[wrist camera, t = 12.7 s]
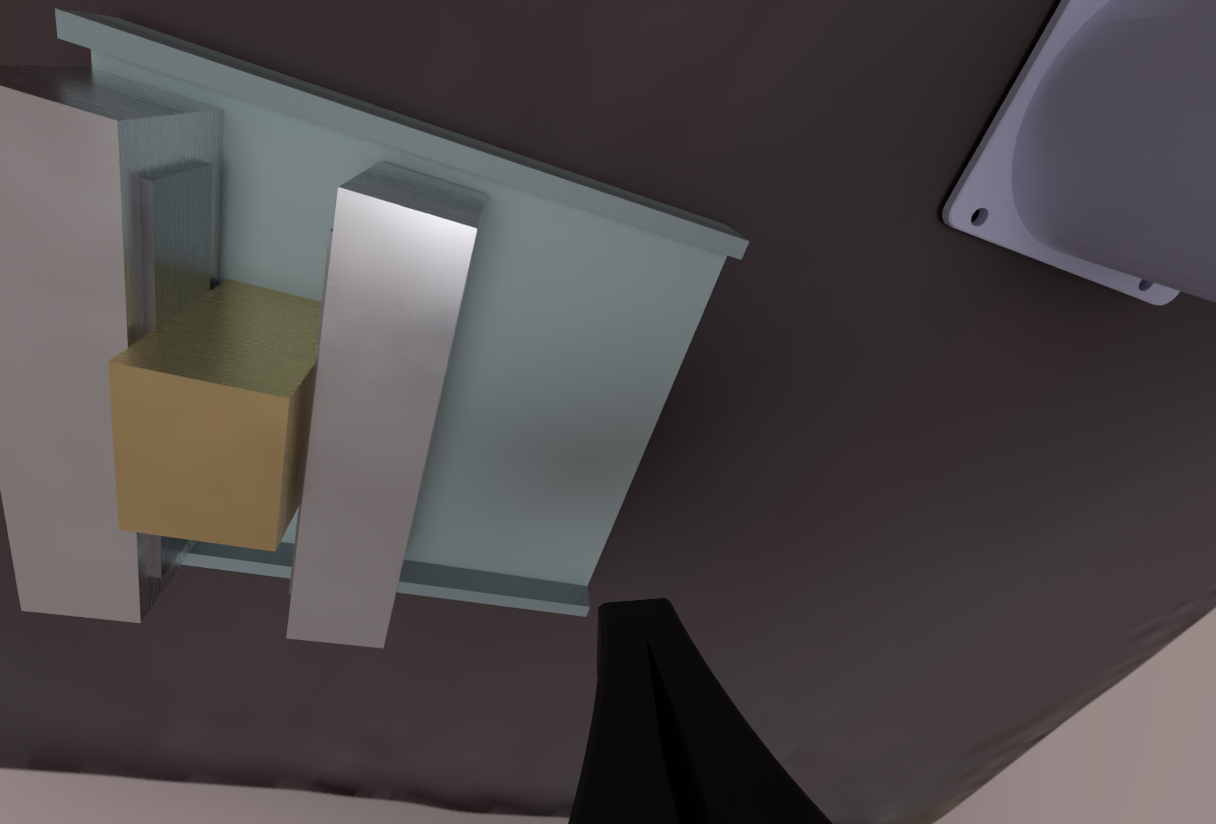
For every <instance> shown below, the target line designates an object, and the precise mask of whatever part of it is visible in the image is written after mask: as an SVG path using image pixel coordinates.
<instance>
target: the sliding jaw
mask: <svg viewBox="0 0 1216 824" xmlns="http://www.w3.org/2000/svg"><path fill="white" fill-rule="evenodd" d="M486 197H487V195H485V194H482V193H479V192H476V191H473V190H470V189H466V188H463V187H460V186H457V185H454V184H451V183H448V182H444V181H441V180H438V179H435V178H432V177H429V176H425V175H422V174H419V173H416V172H413V171H410V170H406V169H403V168H400V167H397V166H394V165H391V164H387V163H384V162H381V161H380V162H378V163H377V164H375V165H373V166H372V167H370V168H369V169H367V170H365V171H364V172H362V173H360V174H359V175H357V176H355V177H354V178H352V179H350V180H349V181H347V182H345V183H344V184H342V185H340V186H339V187H338V192H337V201H336V209H335V218H334V227H333V228H332V229H331V230H330V231H329V239H328V248H327V257H326V266H325V275H324V284H323V293H322V302H321V311H320V320H319V329H318V338H317V347H316V356H315V365H314V374H313V383H312V392H311V401H310V409H309V418H308V427H307V436H306V445H305V454H304V463H303V472H302V481H301V490H300V499H299V508H298V517H297V526H296V535H295V544H294V553H293V562H292V571H291V580H290V589H289V594H291V603H290V612H289V620H288V629H287V638H290V639H299V640H309V641H318V642H328V643H338V644H347V645H357V646H366V647H376V648H384V644H385V639H386V635H387V631H388V627H389V623H390V618H391V614H392V610H393V606H394V602H395V598H396V593H397V589H398V585H399V581H400V577H401V572H402V568H403V564H404V560H405V556H406V551H407V547H408V542H409V538H410V534H411V529H412V525H413V520H414V516H415V511H416V507H417V503H418V498H419V494H420V489H421V485H422V480H423V476H424V472H425V467H426V463H427V458H428V454H429V449H430V445H431V440H432V436H433V432H434V427H435V423H436V418H437V414H438V409H439V405H440V401H441V396H442V392H443V387H444V383H445V378H446V374H447V370H448V365H449V361H450V356H451V352H452V347H453V343H454V338H455V334H456V330H457V325H458V321H459V316H460V312H461V307H462V303H463V299H464V294H465V290H466V285H467V281H468V276H469V272H470V268H471V263H472V259H473V254H474V250H475V245H476V241H477V237H478V232H479V228H480V223H481V219H482V214H483V210H484V205H485V201H486Z"/></svg>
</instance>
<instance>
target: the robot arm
mask: <svg viewBox="0 0 1216 824" xmlns="http://www.w3.org/2000/svg"><path fill="white" fill-rule="evenodd" d="M977 209H979V215H978V217H977V218H976V220H975V221H973V222H971V217H972V215H973V213H974V212H975V211H976V210H977ZM942 218H943V220H944V223H945V224H947V225H948V226H950V227H952V228H955V229H958V230H960V231H963V232H966V233H968V234H971V235H973V236H976V237H979V238H981V239H984V240H986V241H989V242H992V243H994V244H997V245H999V246H1002V247H1005V248H1007V249H1010V250H1012V251H1015V252H1018V253H1020V254H1023V255H1026V256H1028V257H1031V258H1033V259H1036V260H1039V261H1041V262H1044V263H1046V264H1049V265H1052V266H1054V267H1057V268H1059V269H1062V270H1065V271H1067V272H1070V273H1072V274H1075V275H1078V276H1080V277H1083V278H1086V279H1088V280H1091V281H1093V282H1096V283H1099V284H1101V285H1104V286H1106V287H1109V288H1112V289H1114V290H1117V291H1119V292H1122V293H1125V294H1127V295H1130V296H1132V297H1135V298H1138V299H1140V300H1143V301H1146V302H1148V303H1151V304H1154V305H1164V304H1167V303H1168V302H1170V301H1171V300H1173V299H1174V298H1175V297H1176V296H1177V295H1178V294H1179V292H1180V291H1181V292H1185V293H1188V294H1191V295H1194V296H1197V297H1200V298H1203V299H1206V300H1209V301H1212V302H1215V303H1216V0H1061V2H1060V4H1059V5H1058V7H1057V9H1056V11H1055V12H1054V14H1053V16H1052V18H1051V19H1050V21H1049V23H1048V25H1047V26H1046V28H1045V30H1044V32H1043V33H1042V35H1041V37H1040V39H1039V41H1038V42H1037V44H1036V46H1035V48H1034V49H1033V51H1032V53H1031V55H1030V56H1029V58H1028V60H1027V62H1026V63H1025V65H1024V67H1023V69H1022V70H1021V72H1020V74H1019V76H1018V77H1017V79H1016V81H1015V83H1014V84H1013V86H1012V88H1011V90H1010V91H1009V93H1008V95H1007V97H1006V98H1005V100H1004V102H1003V104H1002V105H1001V107H1000V109H999V111H998V112H997V114H996V116H995V118H994V119H993V121H992V123H991V125H990V127H989V128H988V130H987V132H986V134H985V135H984V137H983V139H982V141H981V142H980V144H979V146H978V148H977V149H976V151H975V153H974V155H973V156H972V158H971V160H970V162H969V163H968V165H967V167H966V169H965V170H964V172H963V174H962V176H961V177H960V179H959V181H958V183H957V184H956V186H955V188H954V190H953V191H952V193H951V195H950V197H949V198H948V200H947V202H946V204H945V206H944V209H943V213H942ZM1141 280H1142V281H1141ZM1140 281H1141V282H1140ZM597 675H598V682H597V689H596V697H595V705H594V711H593V717H592V722H591V727H590V732H589V737H588V743H587V748H586V753H585V758H584V762H583V767H582V771H581V776H580V780H579V784H578V788H577V792H576V796H575V800H574V804H573V808H572V812H571V816H570V819H569V823H568V824H833V823H832V822H831V821H830V820H829V819H828V818H827V817H826V816H825V815H824V814H823V813H822V811H821V810H820V809H819V808H818V807H817V806H816V805H815V804H814V803H813V802H812V800H811V799H810V798H809V797H808V796H807V795H806V794H805V793H804V792H803V790H802V789H801V788H800V787H799V786H798V785H797V783H796V782H795V781H794V780H793V779H792V778H791V776H790V775H789V774H788V773H787V772H786V771H785V769H784V768H783V767H782V766H781V765H780V763H779V762H778V761H777V760H776V759H775V757H774V756H773V755H772V754H771V752H770V751H769V750H768V749H767V747H766V746H765V745H764V744H763V742H762V741H761V740H760V738H759V737H758V736H757V734H756V733H755V732H754V731H753V729H752V728H751V727H750V725H749V724H748V723H747V721H746V720H745V719H744V717H743V716H742V715H741V713H740V712H739V710H738V709H737V708H736V706H735V705H734V704H733V702H732V701H731V699H730V698H729V696H728V695H727V693H726V692H725V691H724V689H723V688H722V686H721V685H720V683H719V682H718V680H717V679H716V677H715V676H714V675H713V673H712V672H711V670H710V669H709V667H708V665H707V664H706V662H705V661H704V659H703V658H702V656H701V654H700V653H699V651H698V650H697V648H696V646H695V645H694V643H693V642H692V640H691V638H690V636H689V635H688V633H687V631H686V630H685V628H684V626H683V624H682V623H681V621H680V619H679V617H678V615H677V613H676V612H675V610H674V608H673V606H672V604H671V602H670V601H669V600H668V599H666V598H659V599H647V600H635V601H622V602H610V603H604V604H602V605H601V606H600V607H599V608H598V645H597Z"/></svg>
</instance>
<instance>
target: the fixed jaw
mask: <svg viewBox="0 0 1216 824" xmlns="http://www.w3.org/2000/svg"><path fill="white" fill-rule="evenodd" d="M223 124H224V109H222V108H219V107H215V106H212V105H209V104H206V103H203V102H200V101H197V100H193V99H190V98H187V97H184V96H181V95H178V94H175V93H171V92H168V91H165V90H162V89H159V88H156V87H152V86H149V85H146V84H143V83H140V82H137V81H134V80H130V79H127V78H124V77H121V76H118V75H115V74H112V73H108V72H105V71H102V70H99V69H96V68H93V67H57V66H14V65H0V490H1V495H2V501H3V507H4V513H5V518H6V524H7V530H8V536H9V542H10V547H11V553H12V559H13V565H14V570H15V576H16V582H17V588H18V593H19V599H20V605H21V611H30V612H40V613H49V614H59V615H69V616H78V617H88V618H97V619H107V620H117V621H126V622H136V623H141V622H142V620H143V619H144V617H145V616H146V615H147V613H148V612H149V610H150V609H151V607H152V606H153V604H154V603H155V602H156V600H157V599H158V597H159V596H160V594H161V593H162V591H163V590H164V589H165V587H166V586H167V584H168V583H169V581H170V580H171V579H172V577H173V576H174V574H175V573H176V571H177V570H178V568H179V567H180V566H181V564H182V563H183V561H184V560H185V558H186V557H187V556H188V554H189V553H190V551H191V550H192V548H193V547H194V545H195V544H196V543H197V541H195V540H188V539H181V538H174V537H166V536H159V535H152V534H145V533H138V532H131V531H124V530H119V525H118V509H117V493H116V477H115V462H114V446H113V430H112V414H111V399H110V383H109V367H108V361H110V360H111V359H112V358H114V357H115V356H117V355H118V354H120V353H121V352H123V351H124V350H126V349H127V348H128V347H130V346H131V345H133V344H134V343H136V342H137V341H139V340H140V339H141V338H143V337H144V336H146V335H147V334H149V333H150V332H152V331H153V330H154V329H156V328H157V327H159V326H160V325H162V324H163V323H165V322H166V321H168V320H169V319H170V318H172V317H173V316H175V315H176V314H178V313H179V312H181V311H182V310H183V309H185V308H186V307H188V306H189V305H191V304H192V303H194V302H195V301H196V300H198V299H199V298H201V297H202V296H204V295H205V294H207V293H208V292H210V291H211V290H212V289H214V288H215V287H217V286H218V285H219V264H220V229H221V194H222V159H223Z"/></svg>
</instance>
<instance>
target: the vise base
mask: <svg viewBox="0 0 1216 824" xmlns="http://www.w3.org/2000/svg"><path fill="white" fill-rule="evenodd" d="M55 13H56V25H57V37H58V38H59V39H62V40H65V41H68V42H71V43H74V44H78V45H81V46H84V47H87V48H90V49H91V58H92V67H93V68H96V69H99V70H102V71H105V72H108V73H112V74H115V75H118V76H121V77H124V78H127V79H130V80H134V81H137V82H140V83H143V84H146V85H149V86H152V87H156V88H159V89H162V90H165V91H168V92H171V93H175V94H178V95H181V96H184V97H187V98H190V99H193V100H197V101H200V102H203V103H206V104H209V105H212V106H215V107H219V108H222V109H224V124H223V159H222V194H221V229H220V264H219V285H220V284H221V283H223V282H224V281H225V280H227V279H231V280H235V281H239V282H243V283H247V284H251V285H255V286H259V287H263V288H267V289H271V290H275V291H279V292H283V293H287V294H291V295H295V296H299V297H303V298H307V299H312V300H316V301H320V302H322V293H323V284H324V275H325V266H326V257H327V248H328V239H329V231H330V230H331V229H332V228H333V227H334V218H335V209H336V201H337V192H338V187H339V186H340V185H342V184H344V183H345V182H347V181H349V180H350V179H352V178H354V177H355V176H357V175H359V174H360V173H362V172H364V171H365V170H367V169H369V168H370V167H372V166H373V165H375V164H377V163H378V162H380V161H381V162H384V163H387V164H391V165H394V166H397V167H400V168H403V169H406V170H410V171H413V172H416V173H419V174H422V175H425V176H429V177H432V178H435V179H438V180H441V181H444V182H448V183H451V184H454V185H457V186H460V187H463V188H466V189H470V190H473V191H476V192H479V193H482V194H485V195H487V197H486V201H485V205H484V210H483V214H482V219H481V223H480V228H479V232H478V237H477V241H476V245H475V250H474V254H473V259H472V263H471V268H470V272H469V276H468V281H467V285H466V290H465V294H464V299H463V303H462V307H461V312H460V316H459V321H458V325H457V330H456V334H455V338H454V343H453V347H452V352H451V356H450V361H449V365H448V370H447V374H446V378H445V383H444V387H443V392H442V396H441V401H440V405H439V409H438V414H437V418H436V423H435V427H434V432H433V436H432V440H431V445H430V449H429V454H428V458H427V463H426V467H425V472H424V476H423V480H422V485H421V489H420V494H419V498H418V503H417V507H416V511H415V516H414V520H413V525H412V529H411V534H410V538H409V542H408V547H407V551H406V556H405V560H404V564H403V568H402V572H401V577H400V581H399V585H398V589H397V592H399V593H407V594H414V595H422V596H430V597H438V598H445V599H453V600H461V601H468V602H476V603H484V604H492V605H499V606H507V607H515V608H523V609H530V610H538V611H546V612H553V613H561V614H569V615H577V616H584V617H586V615H587V613H588V611H589V609H590V602H589V595H588V587H587V586H588V583H589V581H590V579H591V576H592V574H593V572H594V569H595V567H596V565H597V562H598V560H599V557H600V555H601V553H602V550H603V548H604V546H605V543H606V541H607V539H608V536H609V534H610V531H611V529H612V527H613V524H614V522H615V520H616V517H617V515H618V513H619V510H620V508H621V505H622V503H623V501H624V498H625V496H626V494H627V491H628V489H629V487H630V484H631V482H632V479H633V477H634V475H635V472H636V470H637V468H638V465H639V463H640V461H641V458H642V456H643V453H644V451H645V449H646V446H647V444H648V442H649V439H650V437H651V435H652V432H653V430H654V427H655V425H656V423H657V420H658V418H659V416H660V413H661V411H662V409H663V406H664V404H665V401H666V399H667V397H668V394H669V392H670V390H671V387H672V385H673V383H674V380H675V378H676V375H677V373H678V371H679V368H680V366H681V364H682V361H683V359H684V357H685V354H686V352H687V349H688V347H689V345H690V342H691V340H692V338H693V335H694V333H695V331H696V328H697V326H698V323H699V321H700V319H701V316H702V314H703V312H704V309H705V307H706V305H707V302H708V300H709V297H710V295H711V293H712V290H713V288H714V286H715V283H716V281H717V279H718V276H719V274H720V271H721V269H722V267H723V264H724V262H725V260H726V257H727V255H728V256H731V257H734V258H737V259H740V260H742V257H743V255H744V253H745V250H746V248H747V246H748V243H749V241H748V240H747V239H745V238H744V237H743V236H741V235H740V234H738V233H737V232H736V231H734V230H733V229H731V228H730V227H729V226H727V225H726V224H723V223H720V222H717V221H714V220H711V219H708V218H705V217H702V216H699V215H696V214H693V213H691V212H688V211H685V210H682V209H679V208H676V207H673V206H670V205H667V204H664V203H661V202H658V201H655V200H652V199H649V198H646V197H643V196H641V195H638V194H635V193H632V192H629V191H626V190H623V189H620V188H617V187H614V186H611V185H608V184H605V183H602V182H599V181H596V180H594V179H591V178H588V177H585V176H582V175H579V174H576V173H573V172H570V171H567V170H564V169H561V168H558V167H555V166H552V165H549V164H546V163H544V162H541V161H538V160H535V159H532V158H529V157H526V156H523V155H520V154H517V153H514V152H511V151H508V150H505V149H502V148H499V147H497V146H494V145H491V144H488V143H485V142H482V141H479V140H476V139H473V138H470V137H467V136H464V135H461V134H458V133H455V132H452V131H449V130H447V129H444V128H441V127H438V126H435V125H432V124H429V123H426V122H423V121H420V120H417V119H414V118H411V117H408V116H405V115H402V114H400V113H397V112H394V111H391V110H388V109H385V108H382V107H379V106H376V105H373V104H370V103H367V102H364V101H361V100H358V99H355V98H352V97H350V96H347V95H344V94H341V93H338V92H335V91H332V90H329V89H326V88H323V87H320V86H317V85H314V84H311V83H308V82H305V81H303V80H300V79H297V78H294V77H291V76H288V75H285V74H282V73H279V72H276V71H273V70H270V69H267V68H264V67H261V66H258V65H255V64H253V63H250V62H247V61H244V60H241V59H238V58H235V57H232V56H229V55H226V54H223V53H220V52H217V51H214V50H211V49H208V48H206V47H203V46H200V45H197V44H194V43H191V42H188V41H185V40H182V39H179V38H176V37H173V36H170V35H167V34H164V33H161V32H158V31H156V30H153V29H150V28H147V27H144V26H141V25H138V24H135V23H132V22H129V21H126V20H123V19H120V18H117V17H110V16H103V15H96V14H90V13H83V12H76V11H69V10H63V9H56V8H55ZM298 508H299V507H298ZM297 517H298V509H297V511H296V513H295V514H294V516H293V518H292V520H291V522H290V524H289V526H288V528H287V530H286V532H285V534H284V536H283V538H282V540H281V542H280V544H279V545H278V547H277V549H276V551H275V552H274V551H267V550H260V549H252V548H245V547H238V546H231V545H224V544H217V543H209V542H202V541H197V543H196V544H195V545H194V547H193V548H192V550H191V551H190V553H189V554H188V556H187V557H186V558H185V560H184V561H183V563H182V565H190V566H198V567H206V568H213V569H221V570H229V571H237V572H244V573H252V574H260V575H267V576H275V577H283V578H291V571H292V562H293V553H294V544H295V535H296V526H297Z"/></svg>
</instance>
